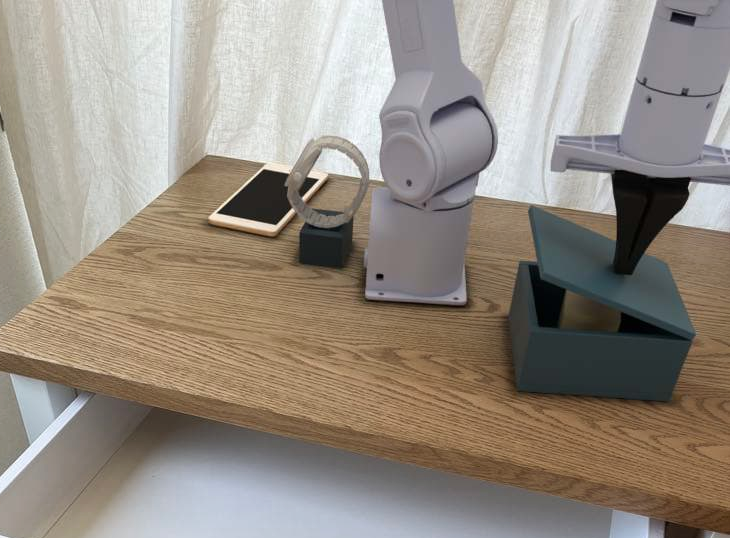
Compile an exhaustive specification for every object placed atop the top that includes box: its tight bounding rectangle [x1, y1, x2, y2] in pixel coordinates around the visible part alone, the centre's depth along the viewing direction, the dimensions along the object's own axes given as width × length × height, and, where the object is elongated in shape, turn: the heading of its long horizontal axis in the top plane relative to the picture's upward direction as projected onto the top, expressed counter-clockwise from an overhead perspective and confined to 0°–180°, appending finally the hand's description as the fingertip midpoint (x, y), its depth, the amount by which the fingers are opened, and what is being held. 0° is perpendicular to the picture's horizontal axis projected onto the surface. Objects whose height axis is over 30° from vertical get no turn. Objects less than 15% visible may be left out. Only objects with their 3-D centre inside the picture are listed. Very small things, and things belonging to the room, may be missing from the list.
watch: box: [285, 135, 370, 269], centre depth 80 cm, size 6×8×11 cm
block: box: [556, 290, 621, 332], centre depth 70 cm, size 4×4×4 cm
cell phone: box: [207, 162, 329, 237], centre depth 92 cm, size 8×16×1 cm, turn 159°
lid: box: [527, 204, 697, 341], centre depth 66 cm, size 13×11×1 cm
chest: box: [507, 260, 693, 402], centre depth 70 cm, size 12×11×6 cm
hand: (622, 268), depth 66 cm, fingers closed
